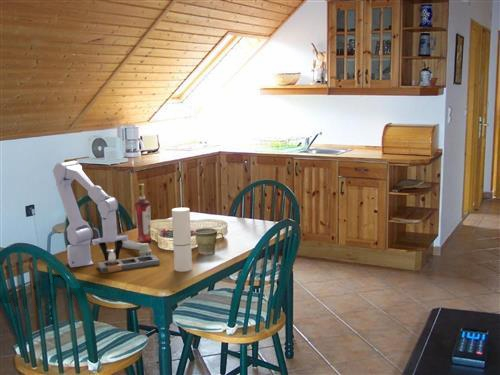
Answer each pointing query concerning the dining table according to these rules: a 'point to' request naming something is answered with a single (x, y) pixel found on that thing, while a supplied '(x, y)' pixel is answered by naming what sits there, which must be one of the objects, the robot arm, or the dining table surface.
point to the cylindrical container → (182, 239)
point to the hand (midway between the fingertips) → (111, 259)
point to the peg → (111, 257)
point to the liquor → (143, 217)
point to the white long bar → (138, 247)
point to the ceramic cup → (206, 240)
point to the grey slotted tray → (129, 263)
